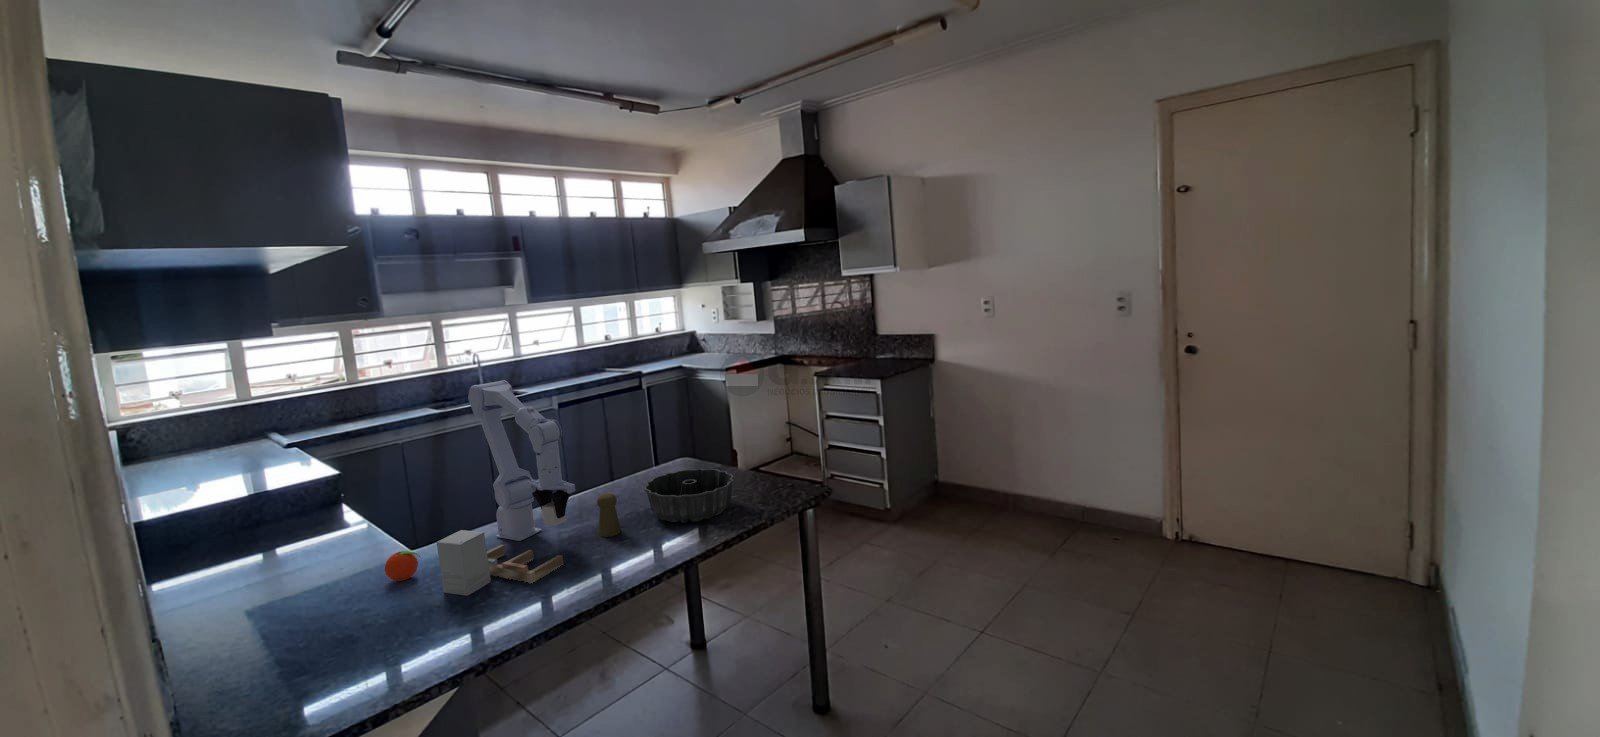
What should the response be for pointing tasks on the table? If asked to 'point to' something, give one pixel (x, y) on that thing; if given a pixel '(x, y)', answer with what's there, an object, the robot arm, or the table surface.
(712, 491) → the bundt pan
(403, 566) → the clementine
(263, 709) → the table surface
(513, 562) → the socket board
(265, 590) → the table surface
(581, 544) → the table surface
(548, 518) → the plug
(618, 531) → the cork
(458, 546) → the supplement box
